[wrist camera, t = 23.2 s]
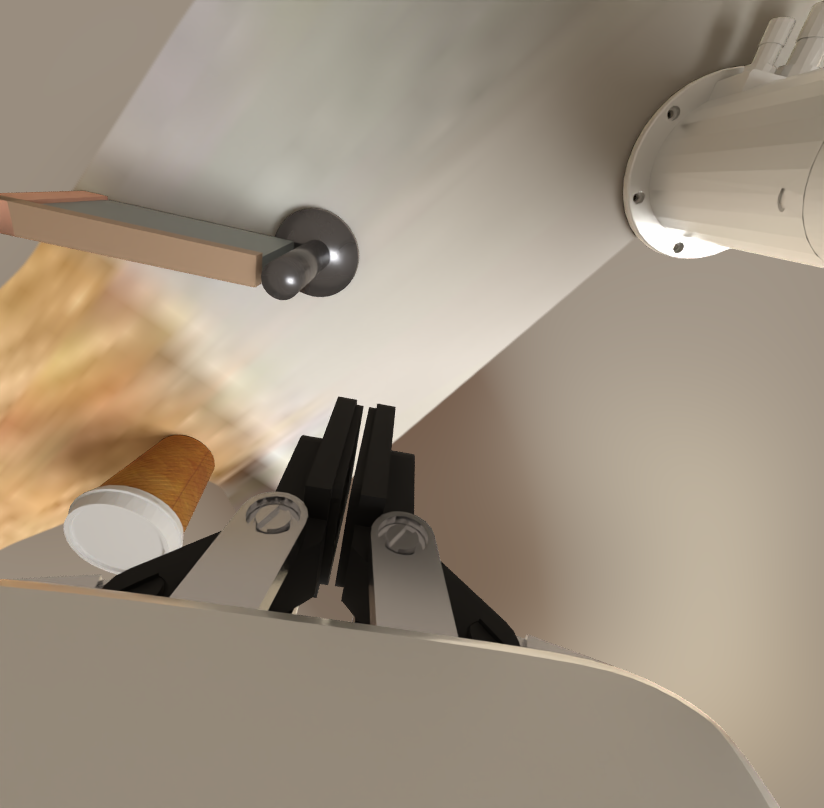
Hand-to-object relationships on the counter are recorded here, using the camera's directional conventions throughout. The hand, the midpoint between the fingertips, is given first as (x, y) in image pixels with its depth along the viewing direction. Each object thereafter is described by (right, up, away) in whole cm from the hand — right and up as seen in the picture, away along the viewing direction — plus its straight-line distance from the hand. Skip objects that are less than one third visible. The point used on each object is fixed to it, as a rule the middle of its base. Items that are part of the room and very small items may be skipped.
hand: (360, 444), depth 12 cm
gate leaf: (-16, +15, +21) cm, 31 cm away
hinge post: (-7, +14, +23) cm, 28 cm away
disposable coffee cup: (-23, -5, +34) cm, 41 cm away
